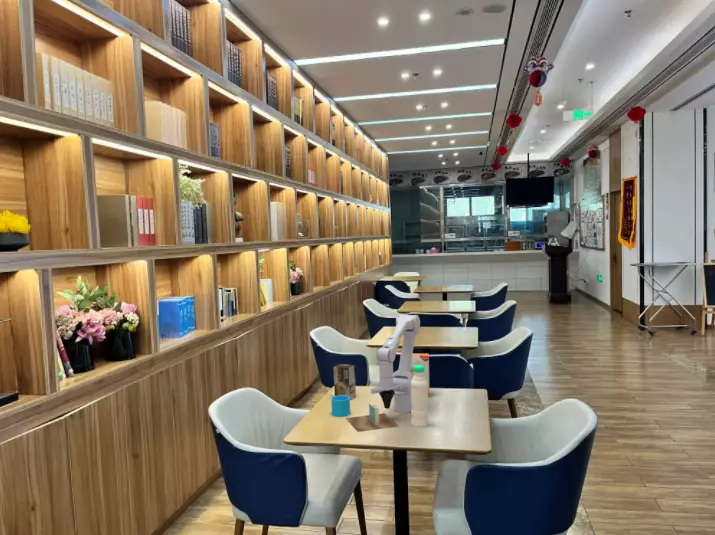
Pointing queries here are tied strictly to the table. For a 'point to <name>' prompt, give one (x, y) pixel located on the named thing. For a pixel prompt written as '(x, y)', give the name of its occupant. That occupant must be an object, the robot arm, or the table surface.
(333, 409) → the mug
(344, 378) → the coffee box
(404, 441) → the table surface
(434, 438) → the table surface
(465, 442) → the table surface
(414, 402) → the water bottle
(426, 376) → the cracker box
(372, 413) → the tile
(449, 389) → the table surface
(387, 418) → the board
